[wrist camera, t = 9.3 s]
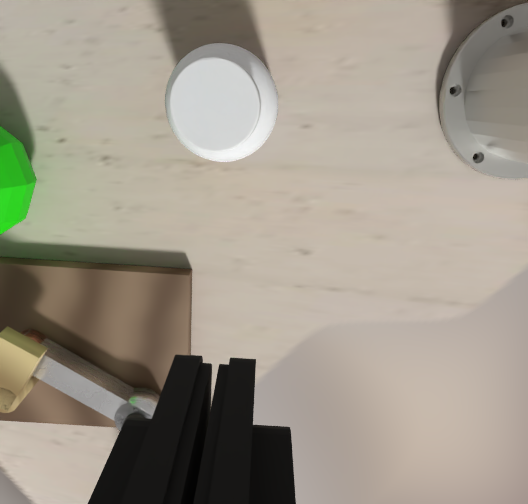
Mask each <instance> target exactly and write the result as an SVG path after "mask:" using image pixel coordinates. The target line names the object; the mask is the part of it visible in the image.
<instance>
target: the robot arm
mask: <svg viewBox="0 0 528 504" xmlns="http://www.w3.org/2000/svg"><path fill="white" fill-rule="evenodd" d="M502 20H503V21H504V26H503V27H502V25H501V21H502ZM451 87H453V88H454V92H453V93H452V94H450V88H451ZM439 113H440V120H441V126H442V129H443V132H444V135H445V137H446V140H447V142H448V143H449V145H450V147H451V148H452V150H453V151H454V153H455V154H456V155H457V156H458V157H459V158H460V159H461V160H462V161H463V162H464V163H465V164H467V165H468V166H470V167H471V168H473V169H474V170H476V171H478V172H481V173H483V174H486V175H489V176H492V177H496V178H500V179H511V180H519V179H527V178H528V3H524V4H520V5H516V6H513V7H511V8H508V9H506V10H503V11H501V12H499V13H497V14H496V15H494V16H492V17H490V18H489V19H487V20H485V21H484V22H483V23H482V24H481V25H479V26H478V27H477V28H476V29H474V30H473V31H472V32H471V33H470V34H469V36H468V37H467V38H466V39H465V40H464V41H463V42H462V44H461V45H460V46H459V48H458V49H457V51H456V52H455V54H454V56H453V57H452V59H451V61H450V63H449V65H448V68H447V70H446V73H445V75H444V78H443V82H442V87H441V91H440V102H439ZM474 154H476V158H475V159H474V160H473V156H474ZM255 367H256V359H242V358H230V362H229V365H225V364H219V369H218V374H217V379H216V385H215V390H214V396H213V401H212V406H211V378H212V364H209V363H203V359H202V356H194V355H178V354H176V355H175V357H174V359H173V362H172V365H171V367H170V370H169V373H168V376H167V378H166V381H165V384H164V386H163V389H162V392H161V395H160V397H159V400H158V403H157V406H156V408H155V411H154V414H153V416H152V419H148V418H131V417H129V418H128V419H126V421H125V423H124V424H123V426H122V429H121V431H120V433H119V435H118V438H117V440H116V442H115V444H114V446H113V449H112V451H111V453H110V455H109V458H108V460H107V462H106V464H105V467H104V469H103V471H102V473H101V476H100V478H99V480H98V482H97V484H96V487H95V489H94V491H93V493H92V496H91V498H90V500H89V502H88V504H296V502H295V487H294V472H293V458H292V443H291V430H290V427H280V426H264V425H253V408H254V407H253V406H254V387H255ZM210 408H211V412H210Z"/></svg>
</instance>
